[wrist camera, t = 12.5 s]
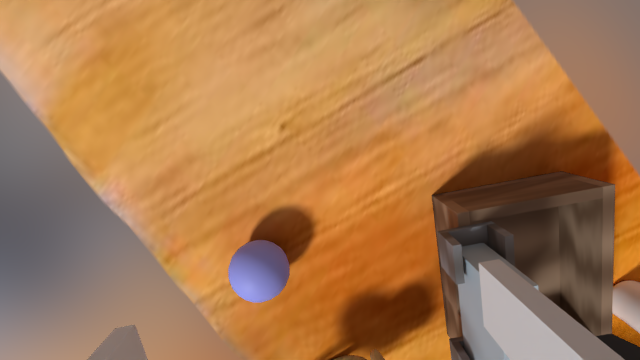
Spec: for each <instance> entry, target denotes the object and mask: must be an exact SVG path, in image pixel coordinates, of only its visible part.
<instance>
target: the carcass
mask: <svg viewBox="0 0 640 360" xmlns="http://www.w3.org/2000/svg"><path fill="white" fill-rule="evenodd" d="M432 201H433V210H434V219H435V228H436V237H437V246H438V255H439V264H440V272H441V281H442V290H443V299H444V308H445V317H446V326H447V334H448V336H449V337H450V339H449V341H450V350H451V359H452V360H470V358H469V357H468V355H467V354H466V352H465V350H464V342H463V332H462V321H461V311H460V301H459V291H458V284H463V283H465V279H464V269H463V258H462V246H467V245H473V244H478V243H485V244H486V245H487V246H488V247H490V248H491V249H492V250H494V251H495V252H496V253H497V254H499V255H500V256H501V257H503V258H504V259H505V260H506V261H508V262H509V263H510V264H512V265H513V266H514V267H515V268H517V269H518V270H519V271H521V272H522V273H523V274H524V275H526V276H527V277H528V278H530V279H531V280H532V281H533V282H535V283H536V284H537V285H538V291H540V292H541V293H542V294H543V295H545V296H546V297H547V298H548V299H550V300H551V301H552V302H553V303H555V304H556V305H557V306H558V307H560V308H561V309H562V310H563V311H565V312H566V313H567V314H568V315H570V316H571V317H572V318H573V319H575V320H576V321H577V322H578V323H580V324H581V325H582V326H583V327H585V328H586V329H587V330H588V331H590V332H591V333H592V334H593V335H595V336H599V335H605V334H612V303H613V256H614V209H615V184H611V183H607V182H603V181H598V180H594V179H590V178H586V177H582V176H578V175H574V174H570V173H566V172H562V171H560V172H555V173H550V174H544V175H539V176H533V177H528V178H523V179H517V180H512V181H506V182H501V183H496V184H490V185H485V186H479V187H474V188H469V189H463V190H458V191H452V192H447V193H442V194H436V195H432Z"/></svg>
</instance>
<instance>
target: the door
mask: <svg viewBox="0 0 640 360" xmlns="http://www.w3.org/2000/svg"><path fill="white" fill-rule="evenodd" d="M462 258H463V269H464V279H465V283H463V284H458V291H459V301H460V311H461V321H462V332H463V342H464V350H465V352H466V354H467V355H468V357H469V358H470V360H510V359H509V358H508V356H507V355H506V354H505V353H504V351H503V350H502V349H501V347H500V346H499V345H498V344H497V342H496V341H495V340H494V339H493V337H492V336H491V335H490V334H489V332H488V331H487V330H486V328H485V327H484V322H483V310H482V298H481V286H480V274H479V263H480V262H485V261H491V260H496V259H500V260H501V261H502V262H503V263H505V264H506V265H507V266H508V267H510V268H511V269H512V270H513V271H515V272H516V273H517V274H518V275H520V276H521V277H522V278H523V279H525V280H526V281H527V282H528V283H530V284H531V285H532V286H533V287H535V288H536V289H537V290H538V285H537V284H536V283H535V282H533V281H532V280H531V279H530V278H528V277H527V276H526V275H524V274H523V273H522V272H521V271H519V270H518V269H517V268H515V267H514V266H513V265H512V264H510V263H509V262H508V261H506V260H505V259H504V258H503V257H501V256H500V255H499V254H497V253H496V252H495V251H494V250H492V249H491V248H490V247H488V246H487V245H486V244H485V243H478V244H473V245H467V246H462Z"/></svg>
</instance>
